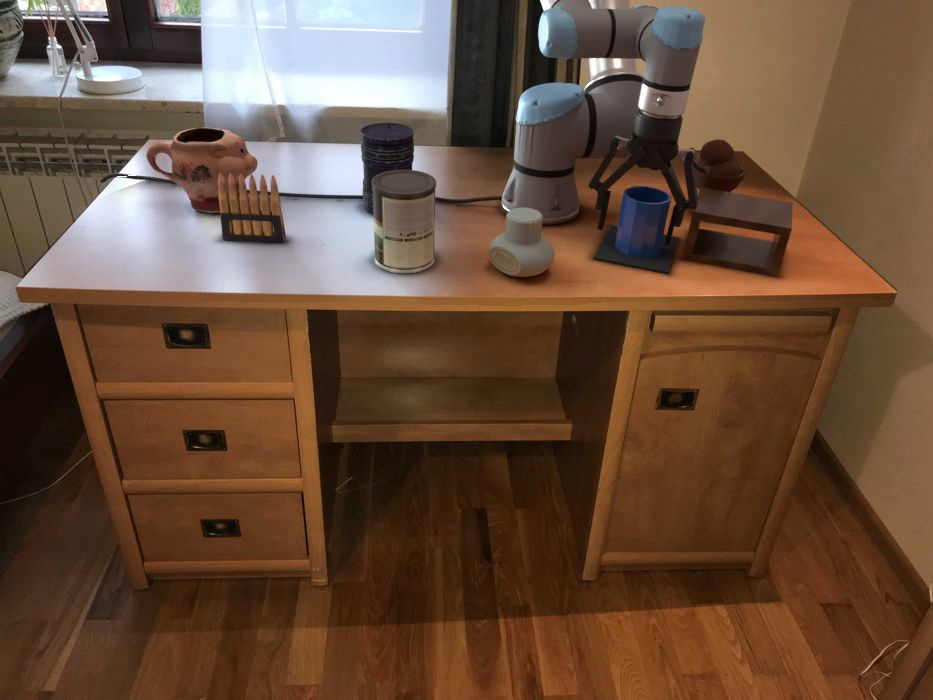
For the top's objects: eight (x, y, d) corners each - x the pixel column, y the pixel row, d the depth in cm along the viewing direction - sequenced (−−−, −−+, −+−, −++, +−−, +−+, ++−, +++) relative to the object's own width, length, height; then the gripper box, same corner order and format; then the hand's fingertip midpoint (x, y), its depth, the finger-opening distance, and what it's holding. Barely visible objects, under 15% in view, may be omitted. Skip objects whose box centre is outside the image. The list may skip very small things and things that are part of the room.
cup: (611, 252, 134) (620, 198, 128) (620, 234, 140) (628, 183, 134) (656, 261, 131) (667, 207, 126) (663, 242, 138) (674, 190, 132)
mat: (592, 259, 132) (593, 257, 132) (610, 226, 144) (610, 224, 143) (668, 274, 128) (668, 272, 128) (679, 239, 140) (679, 237, 140)
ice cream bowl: (738, 227, 146) (757, 151, 138) (679, 220, 147) (695, 144, 139) (733, 206, 155) (751, 133, 146) (677, 200, 156) (692, 127, 148)
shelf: (682, 258, 133) (692, 211, 128) (690, 232, 143) (700, 187, 138) (777, 277, 129) (792, 228, 124) (779, 248, 139) (792, 202, 134)
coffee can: (361, 260, 128) (358, 180, 120) (403, 241, 135) (402, 164, 127) (405, 280, 123) (405, 198, 115) (447, 259, 130) (449, 180, 122)
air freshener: (560, 273, 127) (567, 218, 121) (527, 289, 122) (533, 232, 116) (512, 251, 133) (517, 197, 128) (479, 265, 128) (482, 209, 123)
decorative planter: (146, 218, 138) (131, 143, 131) (162, 192, 148) (149, 122, 141) (258, 218, 140) (249, 144, 133) (266, 193, 150) (259, 123, 143)
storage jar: (412, 218, 143) (412, 140, 135) (360, 216, 143) (357, 138, 134) (415, 198, 151) (415, 123, 143) (366, 196, 151) (363, 121, 143)
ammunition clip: (222, 240, 132) (212, 174, 126) (225, 235, 134) (216, 170, 127) (283, 243, 132) (277, 177, 126) (286, 238, 134) (279, 173, 127)
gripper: (583, 105, 123) (564, 228, 135) (733, 132, 117) (698, 258, 129) (593, 94, 129) (574, 212, 141) (736, 118, 123) (703, 240, 135)
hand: (634, 234), depth 135 cm, fingers open, 11 cm apart
